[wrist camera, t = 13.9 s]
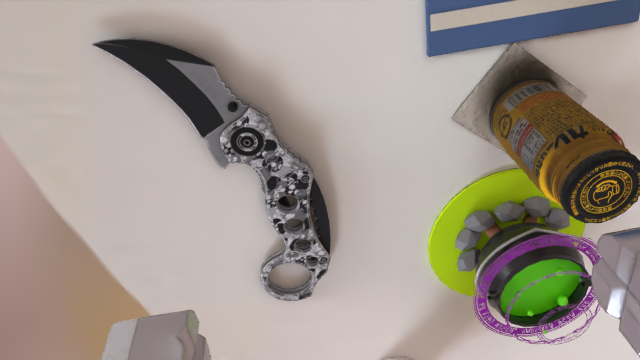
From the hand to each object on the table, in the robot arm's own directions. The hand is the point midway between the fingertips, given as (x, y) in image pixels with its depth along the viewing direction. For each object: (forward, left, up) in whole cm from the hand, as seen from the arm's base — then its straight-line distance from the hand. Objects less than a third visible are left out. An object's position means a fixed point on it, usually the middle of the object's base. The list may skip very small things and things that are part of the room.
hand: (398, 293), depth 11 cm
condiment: (+12, +16, -30) cm, 36 cm away
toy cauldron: (+25, +16, -30) cm, 42 cm away
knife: (+14, -6, -30) cm, 34 cm away
